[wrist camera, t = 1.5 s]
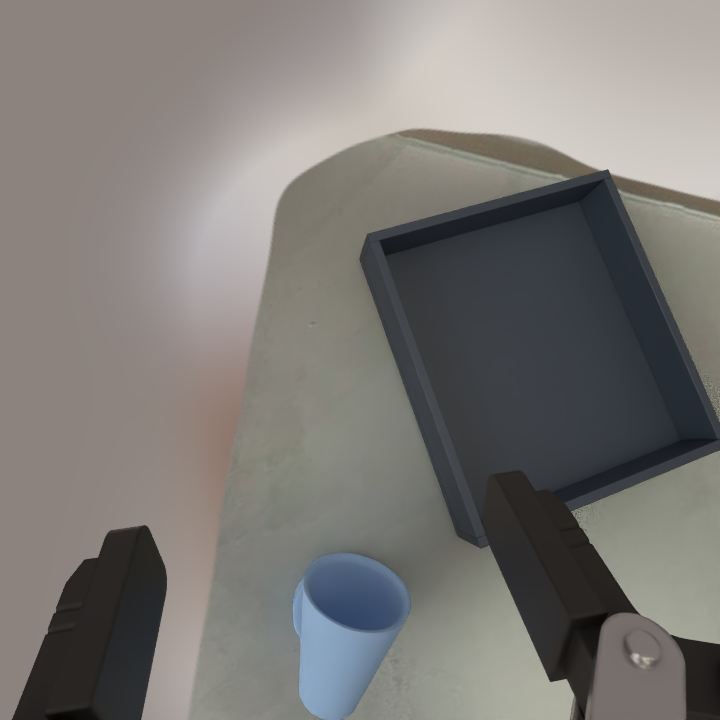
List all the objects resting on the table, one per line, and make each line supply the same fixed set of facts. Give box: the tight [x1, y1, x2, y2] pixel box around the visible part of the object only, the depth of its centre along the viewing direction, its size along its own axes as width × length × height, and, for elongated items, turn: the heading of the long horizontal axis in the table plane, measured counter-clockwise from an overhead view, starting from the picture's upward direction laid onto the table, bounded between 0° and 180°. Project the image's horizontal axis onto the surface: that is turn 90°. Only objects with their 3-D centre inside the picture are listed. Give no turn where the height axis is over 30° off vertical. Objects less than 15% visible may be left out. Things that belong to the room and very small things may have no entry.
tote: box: [360, 170, 720, 548], centre depth 31 cm, size 19×17×4 cm
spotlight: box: [292, 553, 411, 720], centre depth 24 cm, size 5×10×7 cm
